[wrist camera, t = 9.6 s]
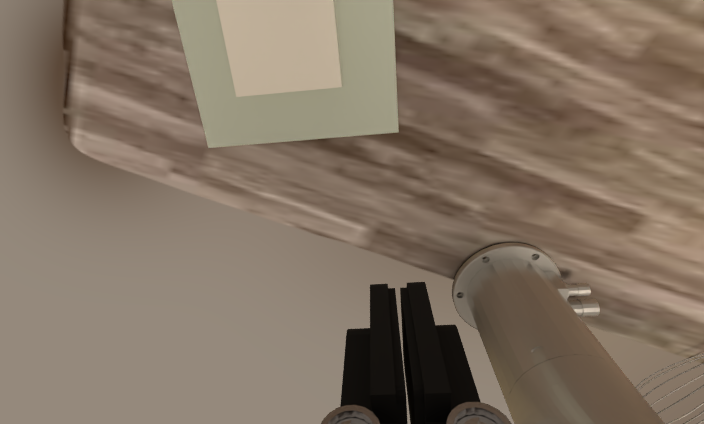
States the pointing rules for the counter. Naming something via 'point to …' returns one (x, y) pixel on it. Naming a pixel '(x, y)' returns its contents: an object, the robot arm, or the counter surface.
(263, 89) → the tile
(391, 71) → the mat
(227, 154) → the counter surface
